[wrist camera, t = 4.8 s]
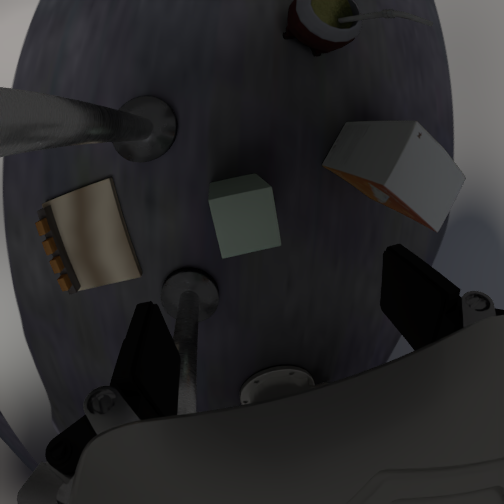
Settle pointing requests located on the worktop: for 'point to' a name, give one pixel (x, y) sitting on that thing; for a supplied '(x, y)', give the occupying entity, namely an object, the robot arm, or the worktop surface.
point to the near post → (84, 124)
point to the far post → (188, 323)
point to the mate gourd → (332, 23)
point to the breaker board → (88, 238)
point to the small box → (398, 168)
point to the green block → (243, 215)
